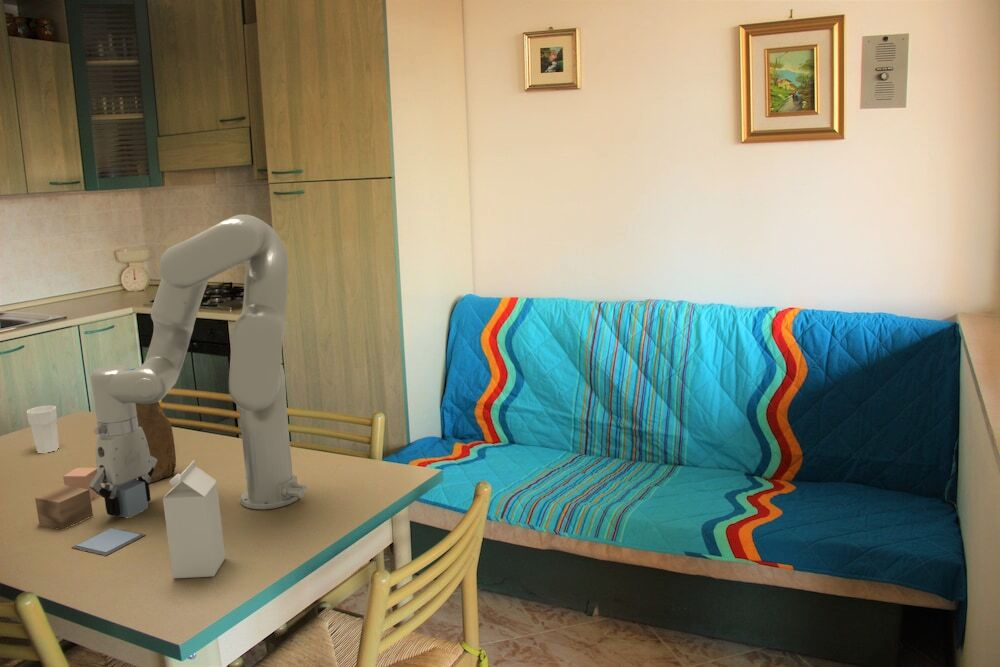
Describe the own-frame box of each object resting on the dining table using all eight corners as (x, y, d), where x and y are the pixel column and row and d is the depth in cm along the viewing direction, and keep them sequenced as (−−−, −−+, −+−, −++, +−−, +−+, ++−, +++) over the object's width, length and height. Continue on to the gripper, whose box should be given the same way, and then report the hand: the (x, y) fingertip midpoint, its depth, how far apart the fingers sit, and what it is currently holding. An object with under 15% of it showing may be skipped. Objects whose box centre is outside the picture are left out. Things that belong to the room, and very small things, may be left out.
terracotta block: (101, 493, 185) (98, 467, 184) (89, 502, 180) (85, 476, 179) (80, 493, 186) (76, 467, 184) (67, 502, 181) (63, 476, 180)
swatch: (145, 535, 163) (145, 533, 163) (106, 556, 154) (105, 554, 154) (111, 528, 166) (111, 526, 166) (71, 548, 158) (71, 546, 158)
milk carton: (225, 558, 152) (214, 459, 148) (214, 577, 145) (201, 474, 141) (186, 560, 152) (174, 461, 148) (172, 579, 145) (159, 476, 141)
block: (132, 488, 187) (120, 402, 183) (122, 479, 193) (111, 396, 189) (180, 475, 194) (170, 392, 190) (170, 467, 199) (160, 386, 195)
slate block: (148, 508, 176) (144, 482, 174) (128, 518, 171) (125, 490, 170) (131, 505, 178) (127, 479, 177) (111, 514, 173) (107, 487, 172)
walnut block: (93, 516, 173) (89, 489, 172) (63, 530, 167) (59, 502, 165) (69, 511, 176) (65, 485, 174) (39, 525, 170) (35, 497, 168)
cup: (36, 448, 217) (29, 407, 215) (64, 444, 219) (58, 404, 217) (30, 456, 211) (23, 414, 209) (59, 452, 213) (53, 411, 211)
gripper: (94, 441, 161) (107, 527, 165) (164, 415, 177) (174, 494, 180) (68, 437, 165) (80, 521, 168) (139, 412, 180) (149, 490, 184)
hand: (129, 507), depth 174 cm, fingers open, 7 cm apart
